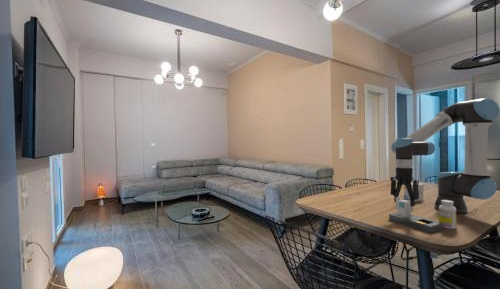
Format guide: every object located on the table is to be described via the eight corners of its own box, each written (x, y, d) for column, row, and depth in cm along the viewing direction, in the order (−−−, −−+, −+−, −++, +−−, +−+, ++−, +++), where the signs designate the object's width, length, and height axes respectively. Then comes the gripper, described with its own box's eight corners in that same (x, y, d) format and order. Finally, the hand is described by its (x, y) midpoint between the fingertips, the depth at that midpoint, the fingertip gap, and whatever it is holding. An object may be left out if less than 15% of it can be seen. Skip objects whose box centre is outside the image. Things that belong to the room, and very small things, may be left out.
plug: (402, 219, 125) (402, 199, 125) (410, 221, 122) (410, 201, 122) (397, 221, 123) (397, 200, 123) (404, 223, 120) (404, 202, 119)
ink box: (403, 198, 167) (403, 180, 167) (411, 197, 170) (411, 179, 170) (415, 201, 159) (414, 182, 159) (423, 200, 162) (423, 181, 161)
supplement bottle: (448, 224, 118) (447, 199, 118) (460, 229, 111) (460, 202, 111) (435, 224, 118) (435, 199, 117) (446, 229, 111) (446, 203, 111)
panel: (400, 216, 129) (400, 211, 129) (442, 229, 111) (442, 222, 111) (389, 219, 125) (389, 214, 125) (430, 233, 107) (430, 226, 107)
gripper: (382, 165, 129) (382, 206, 130) (419, 169, 112) (419, 216, 113) (391, 165, 132) (391, 205, 133) (427, 168, 115) (428, 214, 116)
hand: (404, 210), depth 123 cm, fingers open, 6 cm apart
